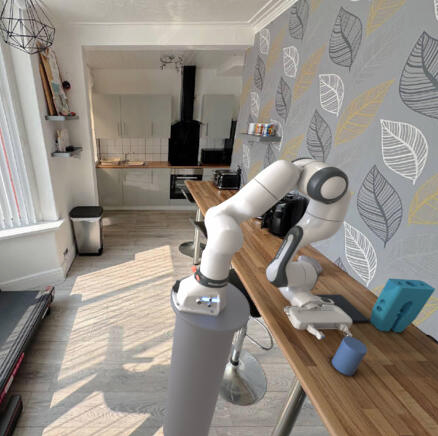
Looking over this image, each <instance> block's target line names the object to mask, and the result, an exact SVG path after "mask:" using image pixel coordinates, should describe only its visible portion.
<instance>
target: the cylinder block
mask: <svg viewBox="0 0 438 436" xmlns="http://www.w3.org/2000/svg"><path fill="white" fill-rule="evenodd" d="M367 352H368V348H367V346H366V345H365V343H363V342H362V341H361V340H359V339H357V338H355V337H353V336H352V337H349V336H347V337H344V336H343V338H342V340H341V342H340V344H339V346H338V348H337V349H336V352H335V354H334V356H333V357H332V359H331V364H332V366H333V367H334V368H335V370H337V371H338V372H340V373H341V374H342V375H345V376H349V377H350V376H353V375H354V374H355V373H356V371H357V369H358V367H359V366H360V364H361V363H362V361H363V359H364V358H365V356H366V355H367Z"/></svg>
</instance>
